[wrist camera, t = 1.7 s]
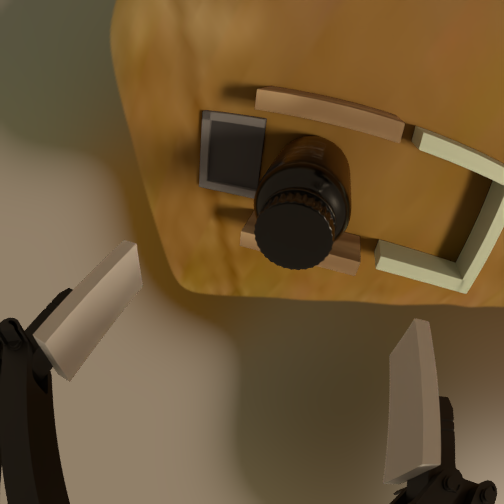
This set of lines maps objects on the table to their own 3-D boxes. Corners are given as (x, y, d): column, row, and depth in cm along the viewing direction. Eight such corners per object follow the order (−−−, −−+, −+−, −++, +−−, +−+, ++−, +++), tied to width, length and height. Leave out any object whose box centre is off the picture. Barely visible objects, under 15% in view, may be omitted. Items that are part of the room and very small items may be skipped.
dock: (415, 125, 22) (423, 132, 19) (510, 167, 20) (523, 178, 17) (374, 251, 30) (375, 268, 27) (459, 276, 28) (466, 293, 25)
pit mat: (205, 110, 26) (202, 111, 26) (266, 118, 25) (265, 119, 25) (201, 184, 31) (199, 186, 31) (256, 196, 30) (254, 198, 30)
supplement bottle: (265, 181, 29) (219, 248, 19) (297, 121, 25) (263, 158, 15) (327, 216, 29) (311, 299, 20) (364, 160, 25) (375, 223, 15)
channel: (270, 86, 23) (257, 89, 20) (395, 114, 22) (405, 123, 18) (253, 222, 32) (239, 245, 28) (355, 249, 30) (355, 276, 27)
